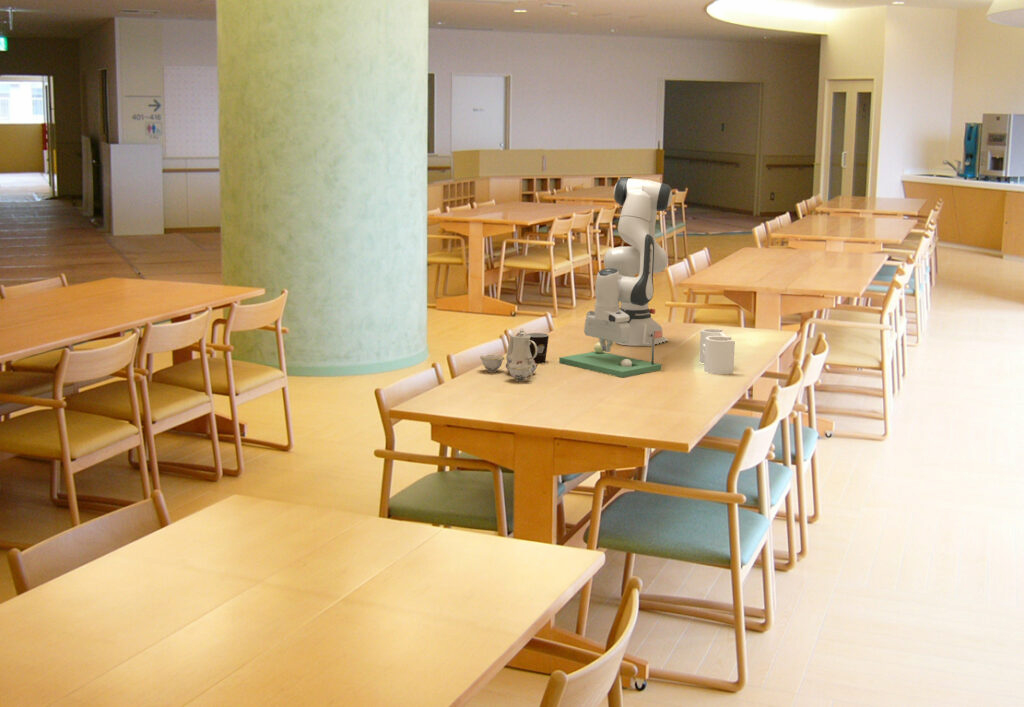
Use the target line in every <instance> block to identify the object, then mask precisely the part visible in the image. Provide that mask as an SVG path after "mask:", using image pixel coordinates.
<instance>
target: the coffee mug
mask: <svg viewBox="0 0 1024 707" xmlns="http://www.w3.org/2000/svg"><path fill="white" fill-rule="evenodd" d="M526 334H527V335H529V336H531V337H530V340H531V341H534V342H535V344H536V346H537V355H536V357H535V358H534V361H535V362H536V364H544V363H546V361H547V360H546V359H547V354H548V353H547V352H548V345H549V344H548V343H549V337H550V336H549V334H548V333H545V332H531V333H530V332H528V333H526ZM530 343H531V342H530ZM529 346H530V352H531V355H532V357H533V356H534V354H535V347H534V345H533V343H531V344H530V345H529Z"/></svg>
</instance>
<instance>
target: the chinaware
mask: <svg viewBox="0 0 1024 707" xmlns="http://www.w3.org/2000/svg"><path fill="white" fill-rule="evenodd" d="M524 330H525V329H523V328H520V330H519V331H518V332H517V333H516V334H512V333H508V336H509V342H508V346H507V350H506V364H505V368H506V369H507V371H508V372H509V375H510V376H511V377H512V378H513V379H514V381H515V382H525V381H527V379H528V380H531V379H532V377H533V375H534V372H535V371H536V369H537V368H538V365H537V364H538V363H536V362H535V361H534V358H535V357H536V355H537V346H536V344H535V342H534V341H531V340H530V337H531V336H529V335H527V334H528V333H527V332H525V331H524ZM530 342H531V343H533V345H534V347H535V354H534V356H533V357H532V355H531V352H530V346H529V345H530V344H531V343H530ZM480 359H481V362H482V365H483V367H484V368H485V369H486V371H487V373H488V372H489V373H496V372H497V371H498V369H500V367H502V364H503V360H505V357H504V356H503V355H501V354H500V355H494V354H487V355H480ZM528 376H529V377H528Z"/></svg>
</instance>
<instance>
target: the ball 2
mask: <svg viewBox="0 0 1024 707" xmlns="http://www.w3.org/2000/svg"><path fill="white" fill-rule="evenodd" d="M621 366H624V367H632V362H631V361H630V360H629V359H624V360H622V362H621Z"/></svg>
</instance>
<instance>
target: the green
mask: <svg viewBox="0 0 1024 707" xmlns="http://www.w3.org/2000/svg"><path fill="white" fill-rule="evenodd" d="M624 359H629V360H630V361H631V362H632V367H624V366H621V362H622V360H624ZM558 361H559V364H563V365H567V366H571V367H575V368H576V367H577V368H579V367H580V369H585V370H588V369H589V370H588V371H592V370H593V371H594V372H596V371H597V373H601V372H602V374H605V373H607V374H606V375H609V374H611V376H614V375H615V376H614V377H618V376H619V378H626V377H627V376H628V377H632V375H633V376H637V375H643V374H647V372H648V373H653V372H657V370H658V371H662V364H661V363H656V362H654V365H651V361H647V360H642V359H637V358H635V357H634V358H632V357H628V356H623V355H618V354H613V353H610V352H605V351H603V352H602V353H597V352H595V351H589V352H583V353H578V354H572V355H567V356H561V357H559V360H558ZM593 371H592V372H593ZM652 371H653V372H652ZM642 373H643V374H642Z"/></svg>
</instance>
